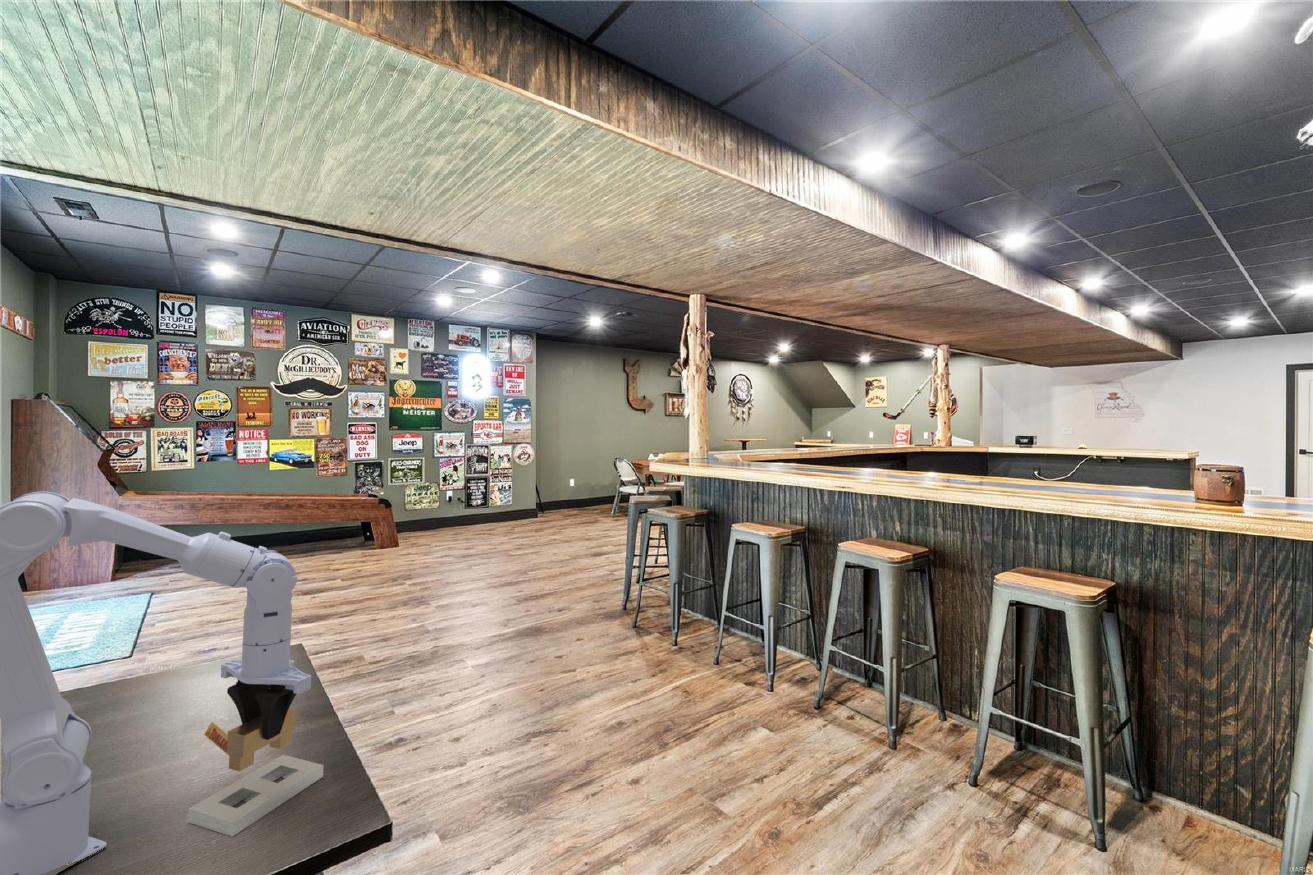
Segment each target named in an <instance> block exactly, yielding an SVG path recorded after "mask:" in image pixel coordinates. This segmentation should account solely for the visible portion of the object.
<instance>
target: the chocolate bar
mask: <svg viewBox="0 0 1313 875" xmlns="http://www.w3.org/2000/svg"><path fill="white" fill-rule="evenodd" d="M203 735H204V736H205V737H206V738H207V739H208V740H210V741H211V742H212V743H213V744H214V745H216V747H217V748H219V750H221V751H223V753H225V755H227V756H228V757H229V754H228V753H227V736H228V732H225V731H224V730H223V729H222V728H220V727H219V726H218V725H217V724H216V723H215V722H214V721H211V723H210V724H209V726H208V727H207V729H206V730H205V732H204V734H203Z"/></svg>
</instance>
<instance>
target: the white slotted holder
mask: <svg viewBox="0 0 1313 875" xmlns="http://www.w3.org/2000/svg"><path fill="white" fill-rule="evenodd" d="M280 778H282V779H283V780H280V781H279V782H276V780H278V779H280ZM322 778H324V764H320V763H316V762H314V761H309V760H305V759H302V758H297V757H293V756H291V755H290V756H289V755H286V754H281V755H280V756H278V757H276V758H274V759H273V760H271V761H269V762H267V763H266V764H264V765H262V766H260V767H258V768H257V769H256V770H255V769H254V770H253V771H252V772H250V773H248V774H246V775H245V776H243V777H242V778H241V777H240V778H239V779H238V780H236V781H234V782H233V783H230V784H229V785H227V786H225V787H224V788H222V789H220V790H219V791H217V792H215V793H213V794H211V795H209V796H208V797H206V798H204V799H202V800H201V801H199V802H197V803H196V804H194V805H193V806H190V807H189V808H187V823H188V824H192V825H194V826H199V827H200V828H204V829H208V830H211V831H214V832H217V833H220V834H223V835H225V836H229V837H234V836H237V834H239V833H240V832H242V831H243V830H244V829H246V828H249V826H251V825H253V824H254V823H255V822H257V821H258V820H260V819H261V818H263V817H265V816H266V815H267V814H269V813H270V812H273V811H274V810H275V809H276V808H278V807H280V806H281V805H282V804H284V803H286V802H287V801H288V800H290V799H291V798H294V797H295V796H297V794H299V793H301V792H303V791H304V790H305V789H307V788H309V787H310V786H311V785H313V784H314V783H316V782H318V781H319V780H320V779H322ZM242 801H243V802H245V803H243V804H241V805H240V806H238V807H234V806H236V805H237V804H239V803H241V802H242Z"/></svg>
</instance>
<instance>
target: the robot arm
mask: <svg viewBox="0 0 1313 875" xmlns="http://www.w3.org/2000/svg"><path fill="white" fill-rule="evenodd" d="M66 537H68V540H67V543H66V547H74V546H80V545H85V544H90V543H98V542H107V543H111V544H115V545H119V546H122V547H127V548H130V549H135V550H138V551H141V552H146V553H149V554H153V555H158V556H160V557H164V558H168V559H172V560H176V561H178V562H179V565H180V568H181V570H182V572H183V573H184V574H185V575H186V574H187V575H190V576H193V577H196V578H201V579H203V580H207V581H210V582H214V583H217V584H220V585H223V586H228V587H230V588H233V589H240V588H246V606H245V608H244V612H243V628H242V629H243V630H242V646H241V647H242V650H241V651H242V653H241V660H239V659H232V660H230V661H227V662H224V663H221V665H220V666H221V668H220V678H223V679H228V678H235V679H237V681H236V682H235V684H234V685H233V684H232V685H230V686H229V687H228V688H227V691H226V694H227V695H228V697H230V698H231V700H232V701H233V703H234V705H235V706H236V709H237V711H238V715H239V718H240V721H241V725H242V724H244V723H246V722H248V721H251V720H253V719H255V718H257V717H259V716H261V715H262V730H263V736H264V739H266V740H269V739H271V738H273V737H275V736H277V735H278V734H280V732H281V729H282V726H283V723H284V720H285V717H286V714H287V712H288V709H289V708H290V707H291V705H292V704H293V701H294V699H295V698H296V696H297V695H300V694H302V693H304V692H306V691H309V690H311V688H312V675H311V674H307V673H304V672H303V671H301V670H299V669H298V668H296V667H295V660H293V659H291V658H290V657H291V637H292V616H293V604H292V603H291V602H292V599H293V590H294V588H295V587H296V586H297V585H296V584H297V583H298V576H296V575H297V574H296V570H295V568H294V566H293V564H291V563H292V562H290V560H289V559H288V558H287V557H286V556H285V555H283V554H281V553H279V552H278V551H277V550H272V549H271V550H269V549H268V548H267V547H265V546H263V545H262V546H261V545H259V546H258V547H254V546H251V545H248V544H245V543H242V542H239V541H235V540H233V539H231V538H232V536H231V534H230V533H228V532H225V531H219V533H218V534H215V533H212V532H205V533H203V534H199V535H196V536H189V535H186V534H183V533H182V532H177V531H175V530H174V529H173V530H172V529H170V528H167V527H164V526H162V525H159V524H156V523H153V522H151V521H148V520H145V519H143V518H139V517H137V516H135V515H131V514H128V513H127V512H123V511H121V510H118V509H115V508H112V507H109V506H106V505H103V504H99V503H96V502H92V501H89V500H84V499H81V498H75V497H73V498H72V499H69V498H67V497H66V496H64V495H62V494H60V493H57V492H52V491H42V490H41V491H34V492H28V493H25V494H22V495H20V496H19V497H16V498H15V499H13V500H12V501H9V502H7V503H5V504H2V505H0V721H1V724H2V727H3V740H2V741H3V749H2V750H3V752H2V754H3V756H4V759H5V762H6V771H5V774H4V777H3V780H2V790H3V792H4V794H3V799H2V800H1V801H0V875H14V874H15V875H39V874H46V873H47V872H49V871H51V870H55V869H56V868H60V867H61V866H63V865H69V864H68V863H69V862H70V861H71V862H72V863H73V862H75V861H79V860H81V859H83V858H85V857H87V856H89V857H91V856H93V855H95V854H97V853H98V852H100V851H102V850H103V848H104V847H105V848H106V847H108V846H107V845H108V844H107V842H106V841H104V840H101V839H98V838H96V837H92V836H90V835H89V834H90V833H89V832H90V831H89V830H90V813H91V812H90V806H91V785H92V769H90V768H89V767H88V766H87V765H86V764H85V762H84V758H85V755H86V752H87V749H88V747H89V744H90V743H91V740H92V735H93V734H92V733H93V732H92V731H93V730H92V728H91V726H90V724H89V723H88V722H87V721H86V720H84V719H82V718H81V717H80V716H77V715H76V713H75V712H74V710H73V709H72V706H71V703H70V702H68V700H66V699H65V698H63V696H62V694H61V692H60V689H59V687H58V684H57V681H56V678H55V676H54V674H53V671H52V668H51V665H50V662H49V660H48V657H47V655H46V652H45V649H44V645H43V644H42V643H43V642H42V640H41V638H40V636H39V634H38V630H37V627H36V625H35V623H34V620H33V618H32V617H33V616H32V614H31V612H30V609H29V607H28V604H27V601H26V599H25V595H24V593H23V590H22V588H21V587H22V586H21V585H20V582H19V578H20V576H21V575H22V574H23V572H25V570H26V569H27V568H28V567H29V566H30V564H32V563H33V561H34V560H35V559H36V558H37V557H38V556H41V555H42V554H44V553H45V552H46V551H48V550H50V549H51V548H52V547H54V546H55V545H56V544H58V543H59V542H60V541H61V539H62V538H66ZM105 848H104V849H105ZM101 849H102V850H101ZM99 850H100V851H99ZM97 851H98V852H97ZM96 852H97V853H96ZM94 853H95V854H94ZM92 854H93V855H92ZM90 855H91V856H90ZM71 862H70V864H71ZM49 874H50V873H49Z"/></svg>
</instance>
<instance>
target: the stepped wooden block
mask: <svg viewBox="0 0 1313 875" xmlns="http://www.w3.org/2000/svg"><path fill="white" fill-rule="evenodd" d="M296 722H297V709H294V708H290V707H289V709H288V712H287V714H286V717H285V720H284V723H283V726H282V729H281V732H280V734H278V735H277V736H275V737H273V738H271V739H269V740H266V739H264V736H263V730H262V715H261V716H259V717H257V718H255V719H253V720H251V721H248V722H246V723H244V724H242V723H241V724H240V725H238V726H236V727H234V728H231V729H230V730H228V731H227V734H228V736H227V753H228V754H229V756H228V758H229V759H228V769H229V770H232V771H236V772H238V773H239V772H242V771H243V770H244V771H245V769H247V768H249V767H250V766H252V765H254V764H255V752H256V751H258V750H261V749H262V748H265V747H266V746H268V745H269V747H270V748H274V749H278V750H281V749H283V748H285V747H286V746H288V745H290V744H291V743H293V732H294V731H296V725H297V724H296Z"/></svg>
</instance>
